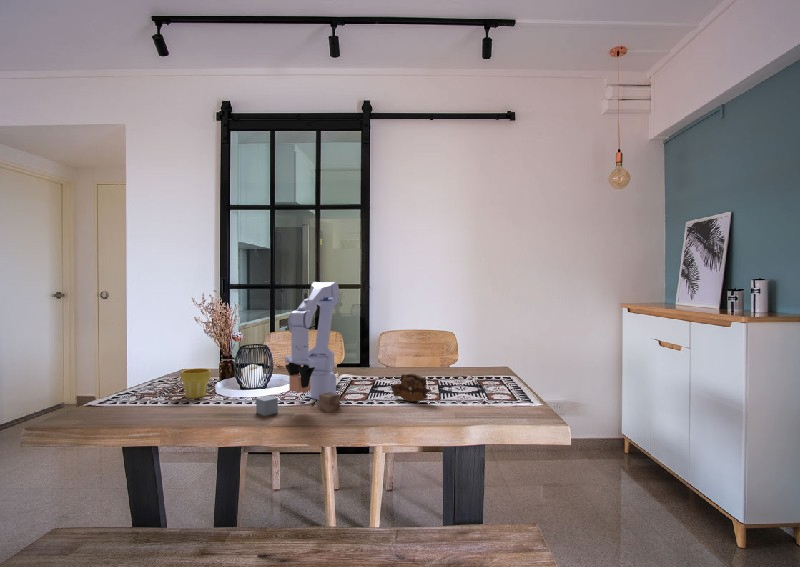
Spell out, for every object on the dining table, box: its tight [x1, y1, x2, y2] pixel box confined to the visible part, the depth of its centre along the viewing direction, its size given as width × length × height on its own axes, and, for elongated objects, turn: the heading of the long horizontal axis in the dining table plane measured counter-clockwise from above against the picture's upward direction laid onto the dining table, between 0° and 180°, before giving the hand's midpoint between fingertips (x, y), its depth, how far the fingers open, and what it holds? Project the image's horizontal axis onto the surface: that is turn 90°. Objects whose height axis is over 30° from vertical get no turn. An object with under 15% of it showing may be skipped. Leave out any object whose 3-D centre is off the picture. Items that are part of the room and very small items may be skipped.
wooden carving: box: [390, 373, 432, 402], centre depth 168 cm, size 16×5×10 cm, turn 62°
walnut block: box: [318, 392, 341, 413], centre depth 158 cm, size 5×5×5 cm
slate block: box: [255, 395, 279, 417], centre depth 153 cm, size 5×5×5 cm
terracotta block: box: [288, 373, 311, 393], centre depth 156 cm, size 5×5×5 cm
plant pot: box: [180, 367, 211, 399], centre depth 174 cm, size 10×10×10 cm
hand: (300, 385), depth 156 cm, fingers closed on terracotta block, 5 cm apart
